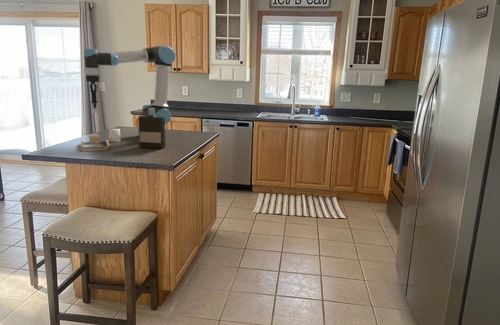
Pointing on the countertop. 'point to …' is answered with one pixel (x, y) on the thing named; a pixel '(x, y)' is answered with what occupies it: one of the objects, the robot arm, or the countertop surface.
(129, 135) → the countertop surface
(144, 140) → the bottle
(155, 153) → the countertop surface
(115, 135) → the white rounded capsule
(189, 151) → the countertop surface
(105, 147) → the wooden l-shaped bracket
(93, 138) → the oak block
